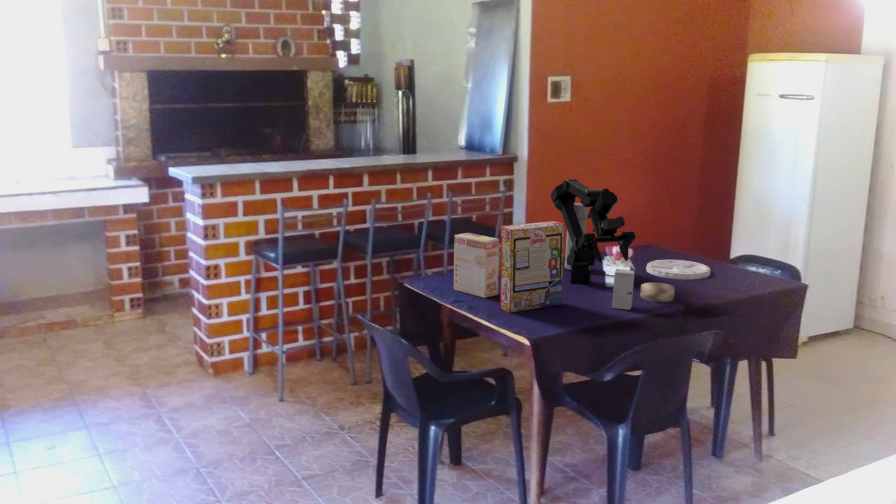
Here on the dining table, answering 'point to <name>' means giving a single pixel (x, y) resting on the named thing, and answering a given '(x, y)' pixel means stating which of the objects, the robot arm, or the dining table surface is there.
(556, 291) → the board game box
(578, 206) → the water bottle
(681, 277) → the medallion
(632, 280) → the skincare box
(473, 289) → the coffeecake box
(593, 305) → the dining table surface
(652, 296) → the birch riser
